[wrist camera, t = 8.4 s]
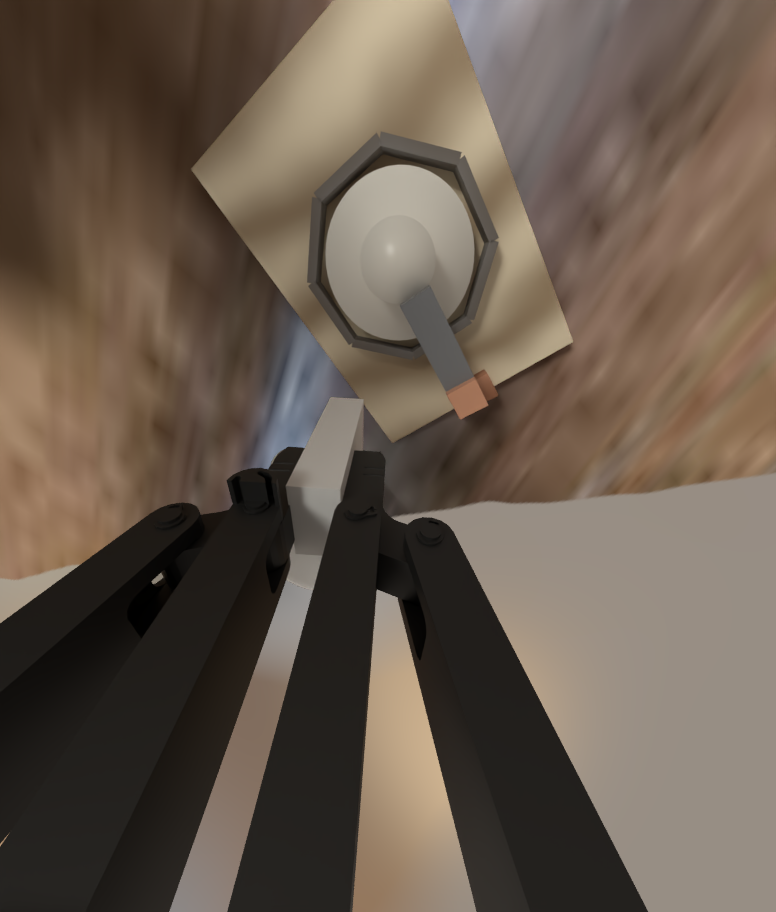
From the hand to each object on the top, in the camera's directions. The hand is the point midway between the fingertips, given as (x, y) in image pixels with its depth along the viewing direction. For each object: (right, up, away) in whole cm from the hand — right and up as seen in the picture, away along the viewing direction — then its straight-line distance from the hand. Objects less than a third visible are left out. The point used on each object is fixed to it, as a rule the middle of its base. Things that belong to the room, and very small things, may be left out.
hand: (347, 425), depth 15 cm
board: (+3, +13, +9) cm, 16 cm away
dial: (+4, +11, +9) cm, 14 cm away
